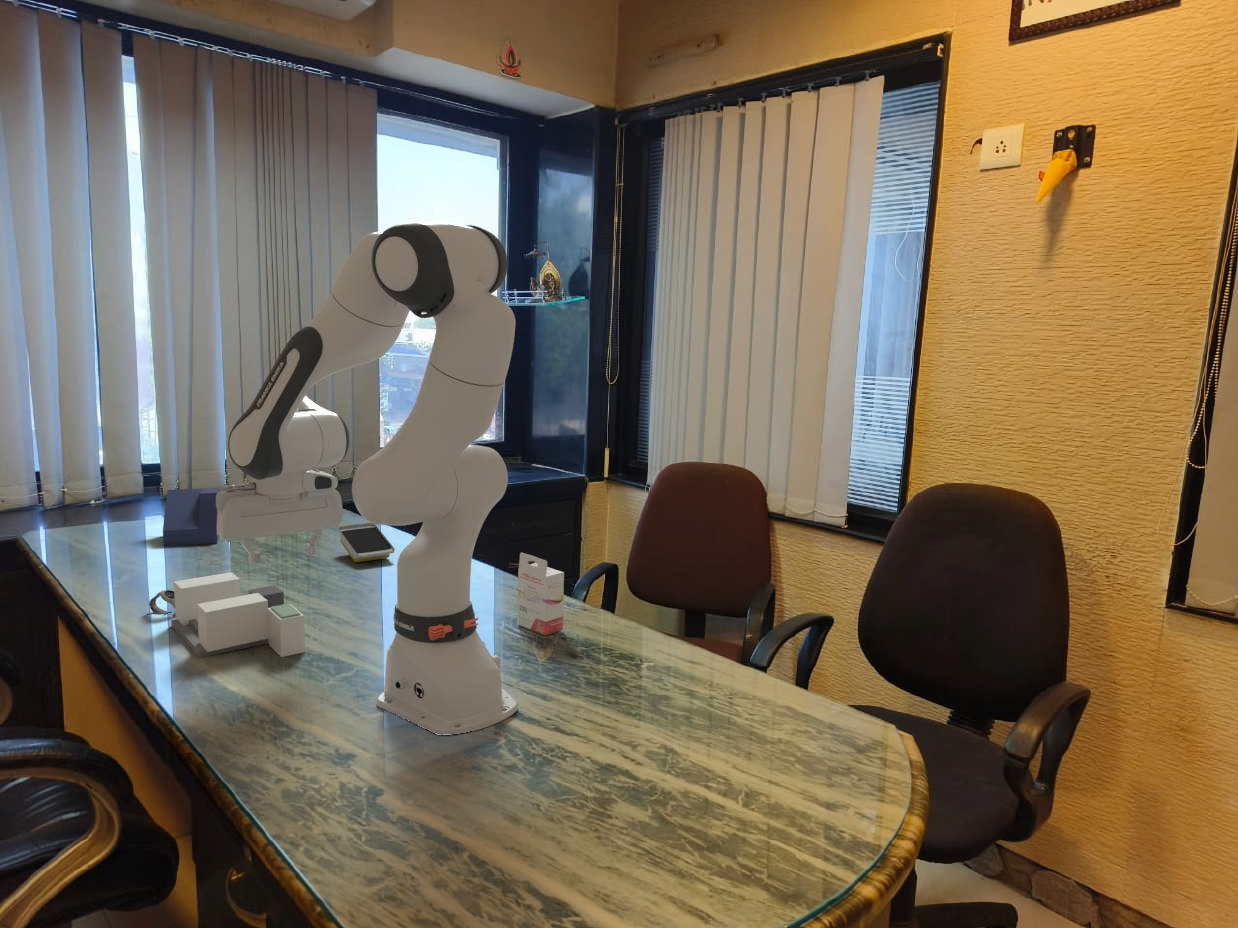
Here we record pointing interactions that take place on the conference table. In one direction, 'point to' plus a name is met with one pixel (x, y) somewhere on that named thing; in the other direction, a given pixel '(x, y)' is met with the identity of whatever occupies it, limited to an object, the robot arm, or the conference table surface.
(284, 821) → the conference table surface
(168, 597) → the wristwatch
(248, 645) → the rail base
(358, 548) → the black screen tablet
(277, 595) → the grey cube-like block
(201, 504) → the phone stand
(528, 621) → the ink cartridge box
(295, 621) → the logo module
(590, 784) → the conference table surface
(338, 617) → the conference table surface
